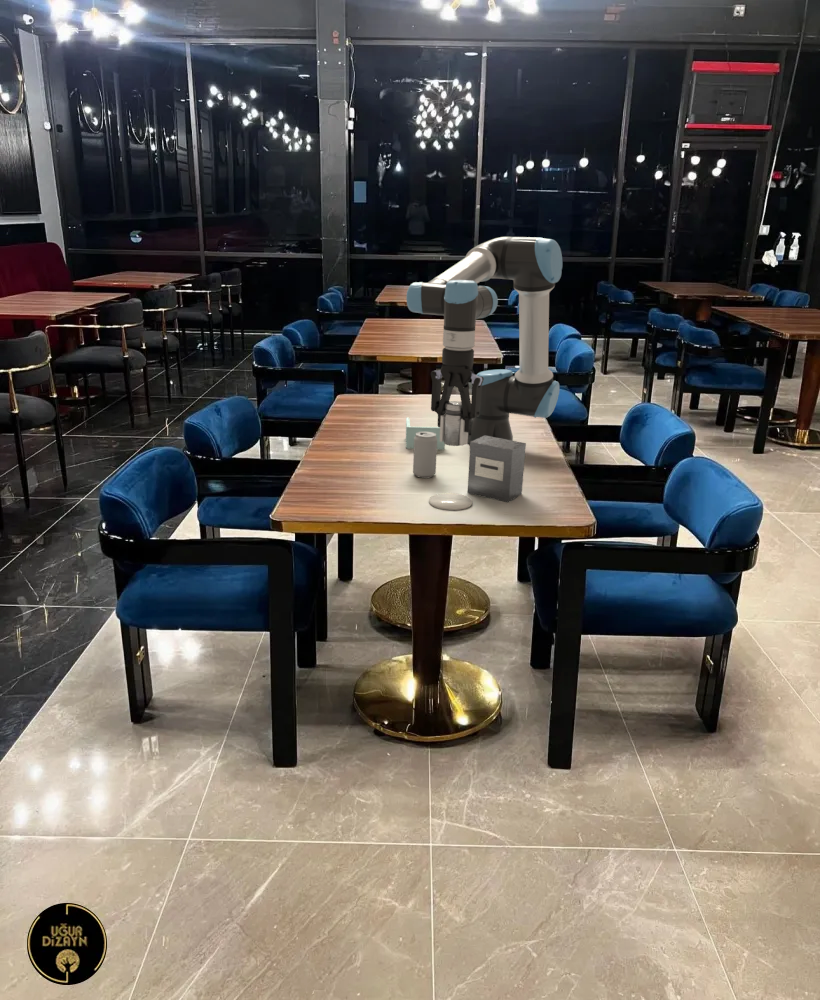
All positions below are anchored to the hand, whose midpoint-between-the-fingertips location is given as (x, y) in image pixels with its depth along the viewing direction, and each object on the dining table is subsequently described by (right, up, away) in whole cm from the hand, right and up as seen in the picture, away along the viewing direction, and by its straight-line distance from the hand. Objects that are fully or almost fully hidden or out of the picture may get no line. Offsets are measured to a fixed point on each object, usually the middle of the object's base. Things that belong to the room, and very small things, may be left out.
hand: (453, 442), depth 193 cm
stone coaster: (0, -15, +6) cm, 16 cm away
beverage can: (-7, -7, +26) cm, 28 cm away
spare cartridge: (0, 0, 0) cm, 0 cm away
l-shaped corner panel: (-6, +3, +56) cm, 57 cm away
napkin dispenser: (+12, -13, +13) cm, 21 cm away
